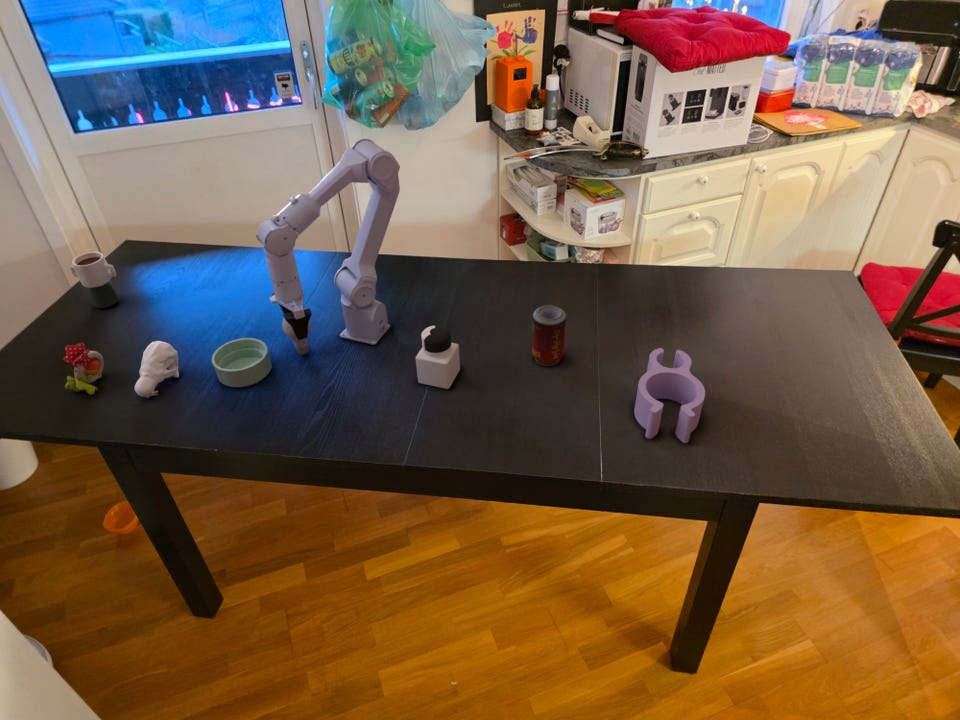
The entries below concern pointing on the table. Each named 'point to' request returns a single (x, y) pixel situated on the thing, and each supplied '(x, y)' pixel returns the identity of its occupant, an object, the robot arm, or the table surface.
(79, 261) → the character mug
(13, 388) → the table surface
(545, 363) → the soda can
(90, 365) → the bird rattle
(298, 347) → the lightbulb
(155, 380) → the white crouching figurine
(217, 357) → the bowl
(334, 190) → the robot arm
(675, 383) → the clip
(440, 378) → the medicine bottle
